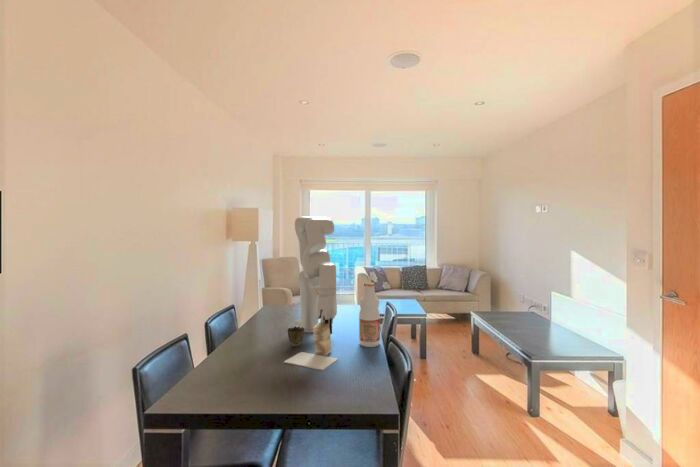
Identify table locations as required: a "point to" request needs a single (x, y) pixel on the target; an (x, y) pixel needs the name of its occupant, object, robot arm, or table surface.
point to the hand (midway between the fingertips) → (327, 334)
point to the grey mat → (311, 360)
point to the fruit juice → (369, 317)
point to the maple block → (322, 339)
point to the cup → (295, 335)
